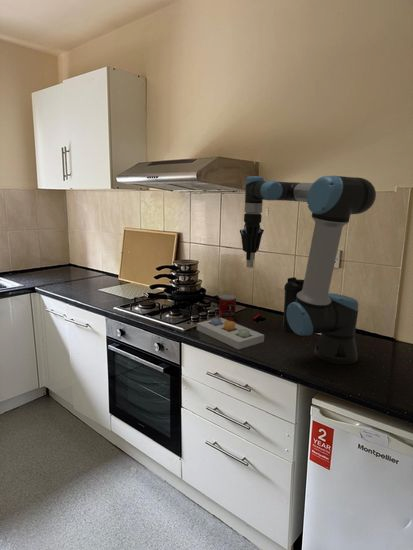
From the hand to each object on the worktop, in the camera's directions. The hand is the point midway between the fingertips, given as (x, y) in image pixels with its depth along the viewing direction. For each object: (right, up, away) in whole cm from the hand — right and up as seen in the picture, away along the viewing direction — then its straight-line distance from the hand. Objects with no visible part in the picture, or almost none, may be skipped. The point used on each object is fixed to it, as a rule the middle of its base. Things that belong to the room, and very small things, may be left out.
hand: (249, 267), depth 172 cm
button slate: (-15, -26, -4) cm, 31 cm away
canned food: (-10, -25, +11) cm, 29 cm away
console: (-10, -29, -11) cm, 32 cm away
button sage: (-4, -29, -17) cm, 34 cm away
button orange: (-10, -27, -11) cm, 30 cm away
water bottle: (+19, -28, 0) cm, 34 cm away
